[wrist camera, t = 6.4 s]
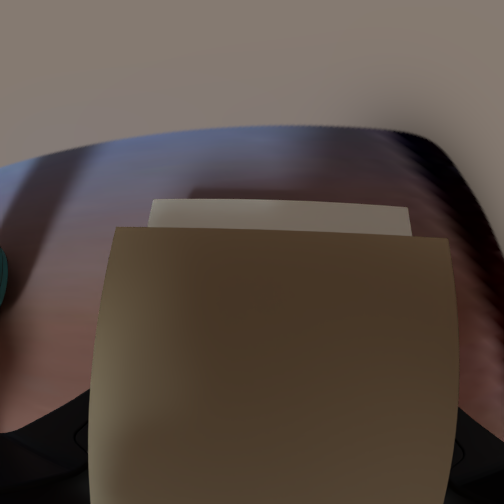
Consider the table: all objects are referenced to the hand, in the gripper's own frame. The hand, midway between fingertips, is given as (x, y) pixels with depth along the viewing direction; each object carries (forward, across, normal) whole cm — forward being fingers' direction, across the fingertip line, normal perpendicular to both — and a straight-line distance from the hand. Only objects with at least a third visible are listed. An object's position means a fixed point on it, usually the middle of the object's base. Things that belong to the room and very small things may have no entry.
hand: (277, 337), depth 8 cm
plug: (+4, 0, +6) cm, 7 cm away
